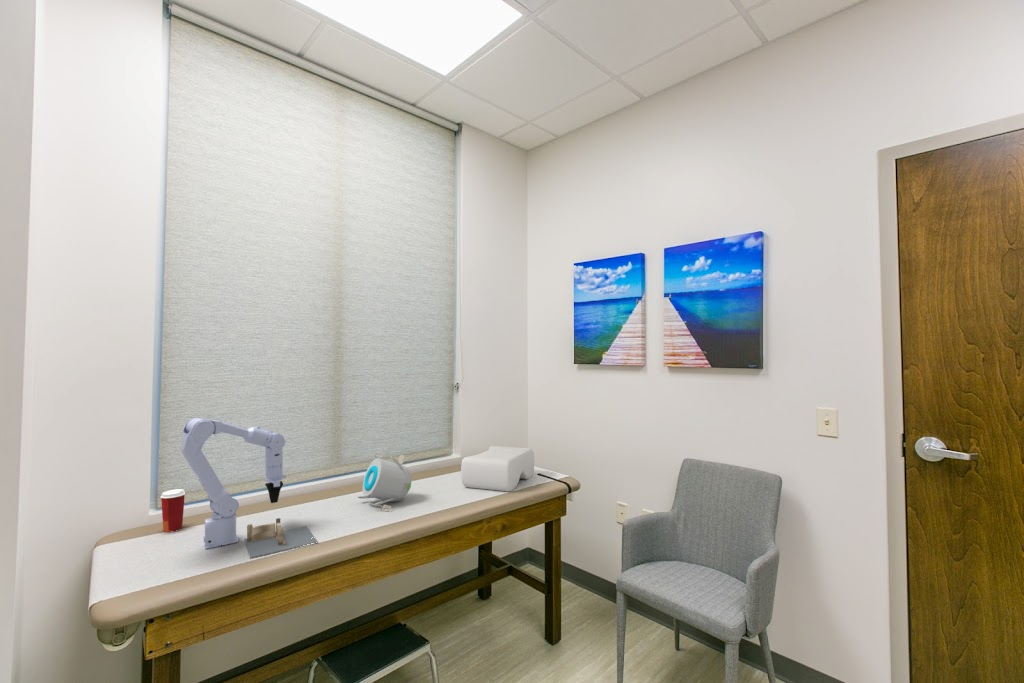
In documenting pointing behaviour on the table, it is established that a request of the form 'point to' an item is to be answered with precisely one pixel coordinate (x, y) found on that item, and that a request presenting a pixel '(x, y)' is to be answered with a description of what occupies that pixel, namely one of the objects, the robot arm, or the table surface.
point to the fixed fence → (260, 531)
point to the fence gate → (279, 531)
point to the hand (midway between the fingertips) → (274, 502)
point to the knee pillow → (497, 468)
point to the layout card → (290, 540)
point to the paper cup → (172, 509)
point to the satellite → (386, 480)
